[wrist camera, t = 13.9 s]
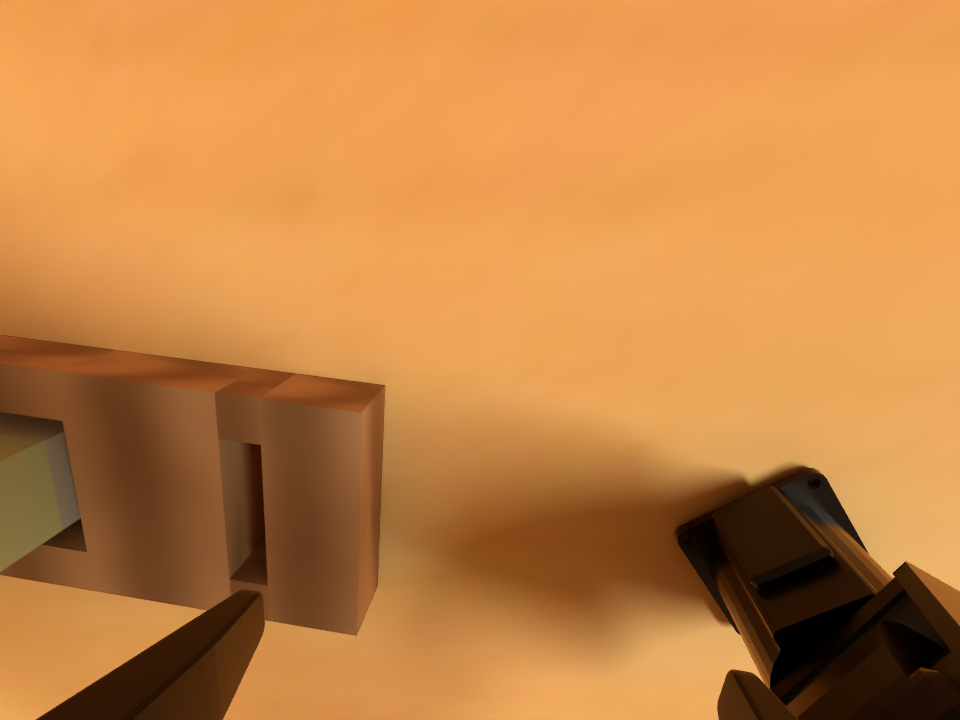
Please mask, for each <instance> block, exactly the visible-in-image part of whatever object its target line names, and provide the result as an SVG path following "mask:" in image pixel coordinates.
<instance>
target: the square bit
mask: <svg viewBox="0 0 960 720" xmlns="http://www.w3.org/2000/svg"><path fill="white" fill-rule="evenodd" d="M80 518H81V516H80V511H79V506H78V500H77V495H76V490H75V485H74V479H73V474H72V469H71V463H70V458H69V453H68V447H67V442H66V437H65V432H64V426H63V421H60V420H53V419H46V418H39V417H32V416H25V415H19V414H12V413H5V412H0V572H1V571H3V570H4V569H6V568H7V567H9V566H10V565H12V564H13V563H15V562H16V561H18V560H19V559H20V558H22V557H23V556H25V555H26V554H28V553H29V552H31V551H32V550H34V549H35V548H37V547H38V546H40V545H41V544H43V543H44V542H46V541H47V540H49V539H50V538H52V537H53V536H55V535H56V534H58V533H59V532H61V531H62V530H64V529H65V528H67V527H68V526H70V525H71V524H73V523H74V522H76V521H77V520H79V519H80Z"/></svg>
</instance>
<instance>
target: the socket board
mask: <svg viewBox="0 0 960 720" xmlns="http://www.w3.org/2000/svg"><path fill="white" fill-rule="evenodd" d="M384 403H385V385H378V384H370V383H362V382H355V381H347V380H339V379H332V378H324V377H317V376H309V375H301V374H294V373H286V372H278V371H271V370H263V369H255V368H248V367H240V366H232V365H225V364H217V363H210V362H202V361H194V360H187V359H179V358H171V357H164V356H156V355H148V354H141V353H133V352H125V351H118V350H110V349H103V348H95V347H87V346H80V345H72V344H64V343H57V342H49V341H41V340H34V339H26V338H18V337H11V336H3V335H0V412H5V413H12V414H19V415H25V416H32V417H39V418H46V419H53V420H60V421H63V426H64V432H65V437H66V442H67V447H68V453H69V458H70V463H71V469H72V474H73V479H74V485H75V490H76V495H77V500H78V506H79V511H80V516H81V518H80V519H79V520H77V521H76V522H74V523H73V524H71V525H70V526H68V527H67V528H65V529H64V530H62V531H61V532H59V533H58V534H56V535H55V536H53V537H52V538H50V539H49V540H47V541H46V542H44V543H43V544H41V545H40V546H38V547H37V548H35V549H34V550H32V551H31V552H29V553H28V554H26V555H25V556H23V557H22V558H20V559H19V560H18V561H16V562H15V563H13V564H12V565H10V566H9V567H7V568H6V569H4V570H3V571H1V572H0V575H4V576H10V577H16V578H22V579H28V580H34V581H39V582H45V583H51V584H57V585H63V586H69V587H75V588H80V589H86V590H92V591H98V592H104V593H110V594H115V595H121V596H127V597H133V598H139V599H145V600H151V601H156V602H162V603H168V604H174V605H180V606H186V607H191V608H197V609H203V610H209V609H211V608H212V607H214V606H215V605H217V604H218V603H220V602H222V601H223V600H225V599H226V598H228V597H229V596H231V595H233V594H234V593H236V592H237V591H239V590H243V589H246V590H252V591H258V592H261V593H262V595H263V599H264V616H265V620H267V621H273V622H279V623H285V624H291V625H297V626H303V627H308V628H314V629H320V630H326V631H332V632H338V633H343V634H349V635H355V636H357V634H358V632H359V629H360V627H361V624H362V622H363V620H364V617H365V615H366V612H367V610H368V608H369V605H370V603H371V600H372V598H373V596H374V593H375V591H376V588H377V586H378V561H379V534H380V508H381V482H382V455H383V429H384Z"/></svg>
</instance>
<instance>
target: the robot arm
mask: <svg viewBox="0 0 960 720" xmlns="http://www.w3.org/2000/svg"><path fill="white" fill-rule="evenodd" d="M813 478H815V480H814V482H812V483H810V484H807V483H808V481H809V480H811V479H813ZM687 535H692V537H690V538H689V539H684V537H685V536H687ZM675 537H676V539H677V542H678V544H679V546H680V547H681V549H682V550H683V552H684V553H685V555H686V556H687V558H688V559H689V561H690V562H691V564H692V565H693V567H694V568H695V570H696V571H697V573H698V574H699V576H700V578H701V579H702V581H703V582H704V584H705V585H706V587H707V588H708V590H709V591H710V593H711V594H712V596H713V597H714V599H715V600H716V602H717V603H718V605H719V606H720V608H721V609H722V611H723V612H724V614H725V615H726V617H727V618H728V620H729V621H730V623H731V624H732V626H733V627H734V629H735V630H736V632H737V633H738V634H740V635H741V636H742V639H743V641H744V643H745V645H746V647H747V649H748V651H749V653H750V655H751V657H752V659H753V661H754V663H755V665H756V667H757V669H758V671H759V673H760V675H761V677H762V679H763V681H764V683H765V684H764V683H763V682H762V681H761V680H760V679H759V678H758V677H757V676H756V675H754V674H753V673H750V672H745V671H739V670H730V671H729V672H728V673H727V675H726V678H725V681H724V684H723V687H722V690H721V693H720V696H719V699H718V705H717V710H718V717H719V720H960V591H958V590H956V589H954V588H953V587H951V586H949V585H947V584H945V583H944V582H942V581H940V580H938V579H937V578H935V577H933V576H931V575H930V574H928V573H926V572H924V571H923V570H921V569H919V568H917V567H916V566H914V565H912V564H910V563H909V562H904V563H903V564H902V565H901V566H900V567H899V568H898V569H897V570H896V571H895V572H893V575H894V576H895V577H894V578H892V577H891V576H890V575H889V574H888V573H887V572H886V571H885V570H884V569H883V568H882V567H881V566H880V565H879V564H878V563H877V562H876V561H875V560H874V559H873V558H872V557H871V556H870V555H869V553H868V552H867V550H866V548H865V546H864V545H863V543H862V541H861V539H860V537H859V536H858V534H857V532H856V530H855V529H854V527H853V525H852V523H851V521H850V520H849V518H848V516H847V514H846V513H845V511H844V509H843V507H842V505H841V504H840V502H839V500H838V498H837V497H836V495H835V493H834V491H833V489H832V488H831V486H830V484H829V482H828V480H827V479H826V477H825V476H824V475H823V474H822V473H820V472H819V471H818V470H816V469H814V468H807V469H803V470H801V471H799V472H797V473H795V474H793V475H790V476H788V477H786V478H784V479H782V480H779V481H777V482H775V483H773V484H771V485H769V486H766V487H764V488H762V489H760V490H758V491H756V492H753V493H751V494H749V495H747V496H745V497H743V498H740V499H738V500H736V501H734V502H732V503H730V504H727V505H725V506H723V507H721V508H719V509H717V510H714V511H712V512H710V513H708V514H706V515H704V516H701V517H699V518H697V519H695V520H693V521H690V522H688V523H686V524H684V525H682V526H680V527H679V528H677V530H676V531H675ZM264 627H265V616H264V599H263V595H262V593H261V592H258V591H252V590H246V589H243V590H239V591H237V592H236V593H234V594H233V595H231V596H229V597H228V598H226V599H225V600H223V601H222V602H220V603H218V604H217V605H215V606H214V607H212V608H211V609H209V610H207V611H206V612H204V613H203V614H201V615H200V616H198V617H196V618H195V619H193V620H192V621H190V622H189V623H187V624H185V625H184V626H182V627H181V628H179V629H178V630H176V631H174V632H173V633H171V634H170V635H168V636H167V637H165V638H163V639H162V640H160V641H159V642H157V643H156V644H154V645H152V646H151V647H149V648H148V649H146V650H145V651H143V652H141V653H140V654H138V655H137V656H135V657H134V658H132V659H130V660H129V661H127V662H126V663H124V664H123V665H121V666H119V667H118V668H116V669H115V670H113V671H112V672H110V673H108V674H107V675H105V676H104V677H102V678H101V679H99V680H97V681H96V682H94V683H93V684H91V685H89V686H88V687H86V688H85V689H83V690H82V691H80V692H78V693H77V694H75V695H74V696H72V697H71V698H69V699H67V700H66V701H64V702H63V703H61V704H60V705H58V706H56V707H55V708H53V709H52V710H50V711H49V712H47V713H45V714H44V715H42V716H41V717H39V718H38V719H36V720H223V718H224V716H225V714H226V712H227V710H228V708H229V706H230V704H231V702H232V699H233V697H234V695H235V693H236V691H237V689H238V687H239V684H240V682H241V680H242V678H243V676H244V674H245V672H246V669H247V667H248V665H249V663H250V661H251V659H252V657H253V655H254V652H255V650H256V648H257V646H258V644H259V642H260V640H261V637H262V635H263V632H264Z"/></svg>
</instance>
